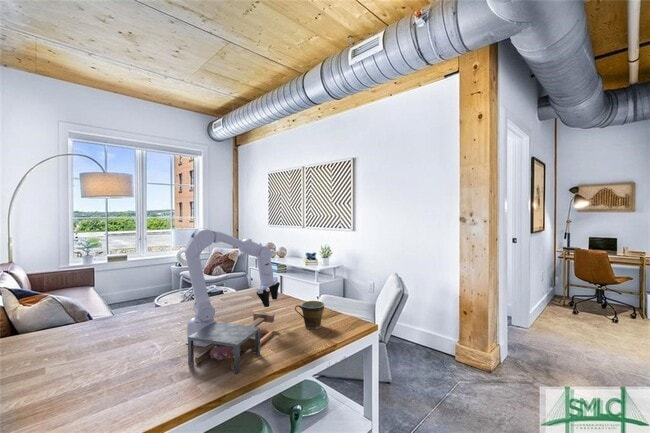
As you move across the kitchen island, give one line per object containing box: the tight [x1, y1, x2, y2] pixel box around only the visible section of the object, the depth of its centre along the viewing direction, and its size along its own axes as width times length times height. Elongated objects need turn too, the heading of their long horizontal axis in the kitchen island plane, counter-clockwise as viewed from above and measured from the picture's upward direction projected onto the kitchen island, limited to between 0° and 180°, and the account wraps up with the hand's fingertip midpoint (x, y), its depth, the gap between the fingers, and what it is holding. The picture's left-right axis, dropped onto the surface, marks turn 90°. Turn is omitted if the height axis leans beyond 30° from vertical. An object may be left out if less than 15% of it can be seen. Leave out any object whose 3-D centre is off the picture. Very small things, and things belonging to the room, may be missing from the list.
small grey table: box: [187, 320, 261, 375], centre depth 105 cm, size 19×14×10 cm
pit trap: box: [252, 328, 274, 347], centre depth 121 cm, size 13×14×2 cm
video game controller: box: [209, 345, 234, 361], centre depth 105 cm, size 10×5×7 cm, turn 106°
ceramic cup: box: [294, 300, 325, 331], centre depth 133 cm, size 13×10×10 cm
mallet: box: [194, 311, 275, 371], centre depth 116 cm, size 15×34×6 cm, turn 163°
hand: (270, 302), depth 133 cm, fingers open, 7 cm apart
